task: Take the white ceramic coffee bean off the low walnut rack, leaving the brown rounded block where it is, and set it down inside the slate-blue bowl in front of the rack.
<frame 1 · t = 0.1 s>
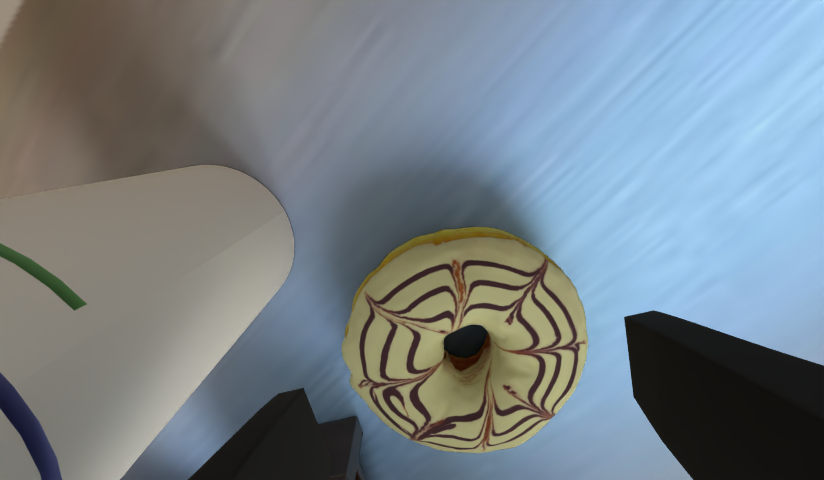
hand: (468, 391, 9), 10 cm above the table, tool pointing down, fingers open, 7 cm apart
cylindrical container: (220, 240, 18), on the table
decorated donut: (458, 322, 19), on the table
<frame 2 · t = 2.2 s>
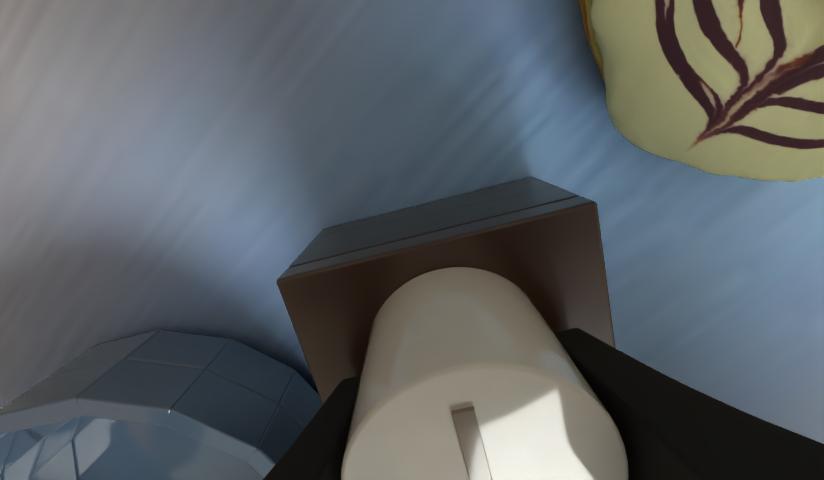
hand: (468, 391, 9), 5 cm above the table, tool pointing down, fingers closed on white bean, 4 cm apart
rack: (476, 405, 15), on the table
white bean: (464, 377, 9), point 5 cm above the table, touching gripper, rack
bowl: (205, 462, 15), on the table
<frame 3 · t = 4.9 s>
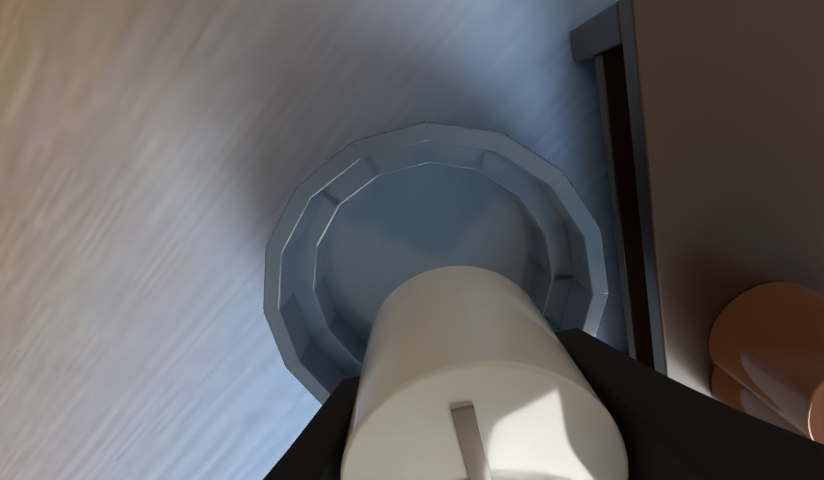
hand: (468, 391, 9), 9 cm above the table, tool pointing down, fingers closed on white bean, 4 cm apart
brown rounded block: (766, 353, 14), point 4 cm above the table, touching rack
rack: (675, 205, 17), on the table
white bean: (463, 376, 9), point 9 cm above the table, touching gripper
bowl: (430, 264, 18), on the table
when the fingers open (1 cm above the table, at t = 7.4 s): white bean stays where it is, resting on bowl.
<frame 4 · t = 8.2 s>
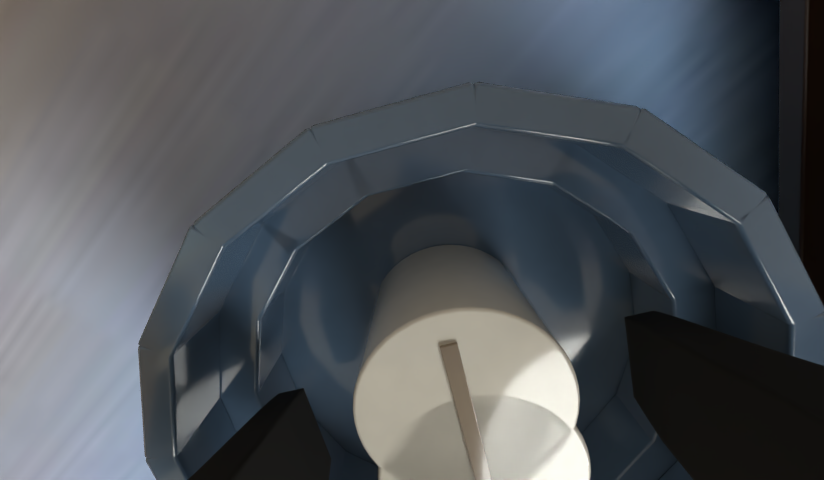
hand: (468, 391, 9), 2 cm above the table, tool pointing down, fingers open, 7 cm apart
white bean: (454, 342, 10), resting on bowl
bowl: (455, 333, 11), on the table
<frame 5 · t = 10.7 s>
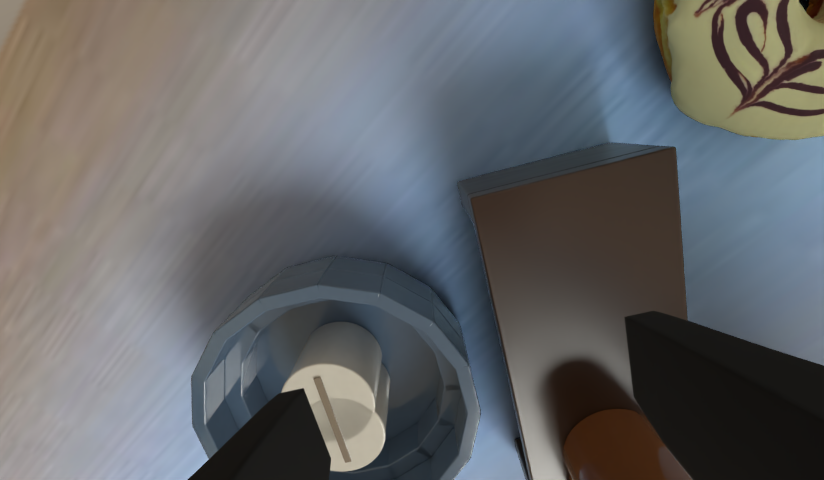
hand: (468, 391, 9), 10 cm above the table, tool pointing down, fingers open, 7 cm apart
brown rounded block: (612, 462, 16), point 4 cm above the table, touching rack
rack: (558, 317, 19), on the table
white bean: (347, 369, 20), resting on bowl
decorated donut: (757, 2, 16), on the table
bowl: (350, 364, 20), on the table
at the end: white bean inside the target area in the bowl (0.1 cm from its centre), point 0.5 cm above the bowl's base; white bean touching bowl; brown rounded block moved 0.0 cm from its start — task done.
